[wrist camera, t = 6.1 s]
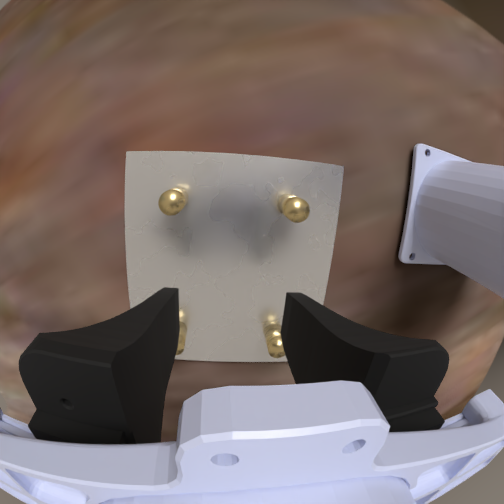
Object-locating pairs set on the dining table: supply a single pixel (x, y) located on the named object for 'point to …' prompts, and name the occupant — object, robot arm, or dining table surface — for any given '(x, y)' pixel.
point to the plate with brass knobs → (229, 244)
